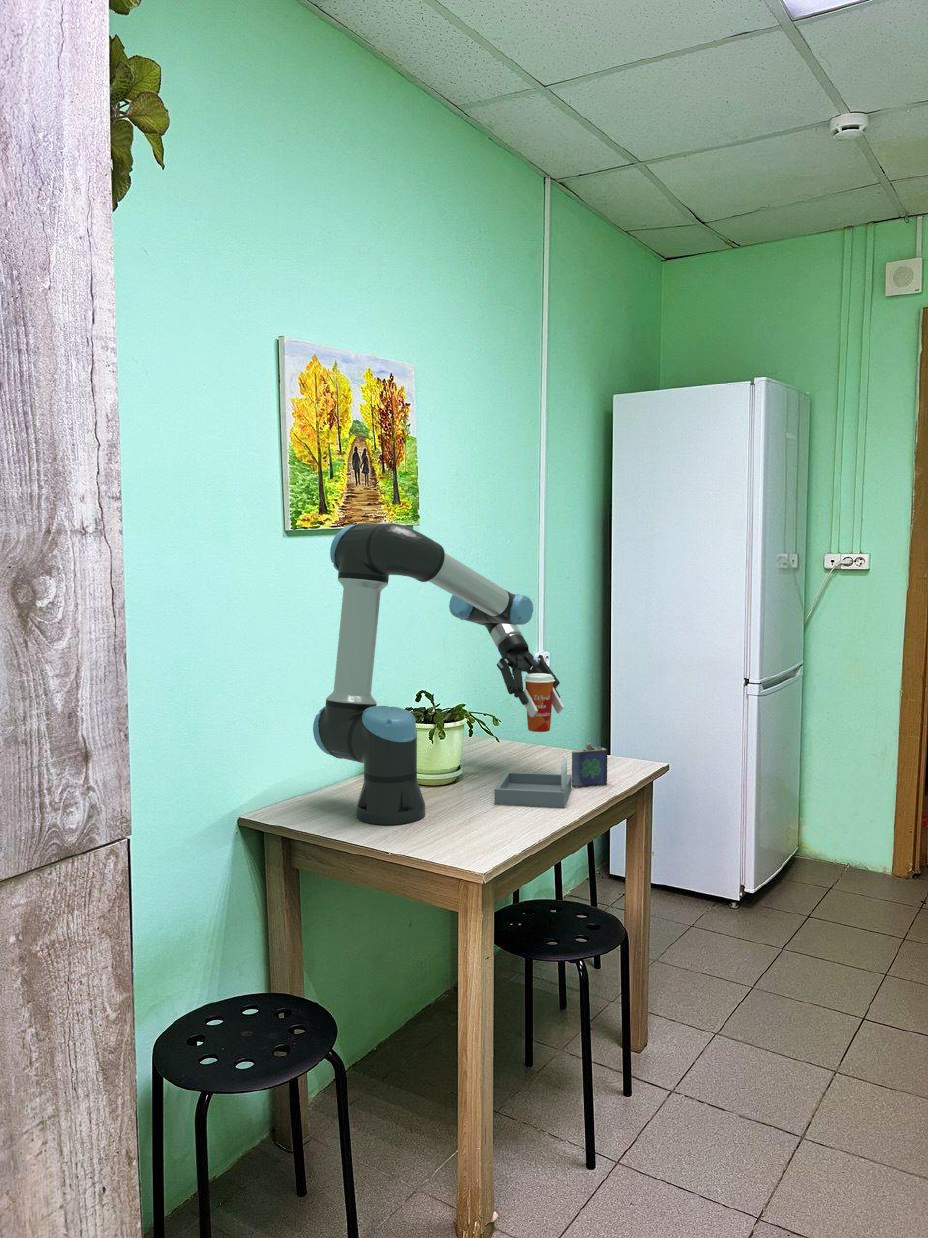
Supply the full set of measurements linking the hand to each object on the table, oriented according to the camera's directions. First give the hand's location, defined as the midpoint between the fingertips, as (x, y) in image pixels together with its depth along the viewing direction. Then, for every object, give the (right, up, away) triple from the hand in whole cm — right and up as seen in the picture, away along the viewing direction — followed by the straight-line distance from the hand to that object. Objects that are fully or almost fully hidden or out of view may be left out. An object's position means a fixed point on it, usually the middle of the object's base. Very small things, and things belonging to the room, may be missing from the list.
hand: (547, 712), depth 229 cm
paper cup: (-2, -5, +3) cm, 6 cm away
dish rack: (-4, -18, -13) cm, 23 cm away
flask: (+10, -18, -4) cm, 21 cm away
